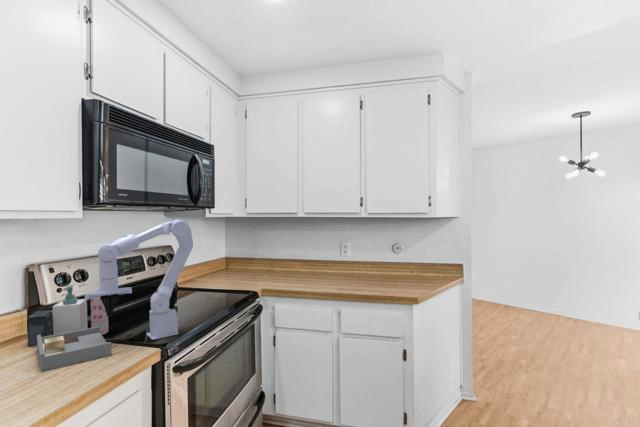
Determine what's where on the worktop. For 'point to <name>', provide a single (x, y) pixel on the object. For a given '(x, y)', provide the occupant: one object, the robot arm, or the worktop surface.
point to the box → (39, 326)
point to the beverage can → (99, 315)
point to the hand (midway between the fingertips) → (109, 316)
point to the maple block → (54, 345)
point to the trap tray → (74, 348)
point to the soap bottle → (69, 313)
